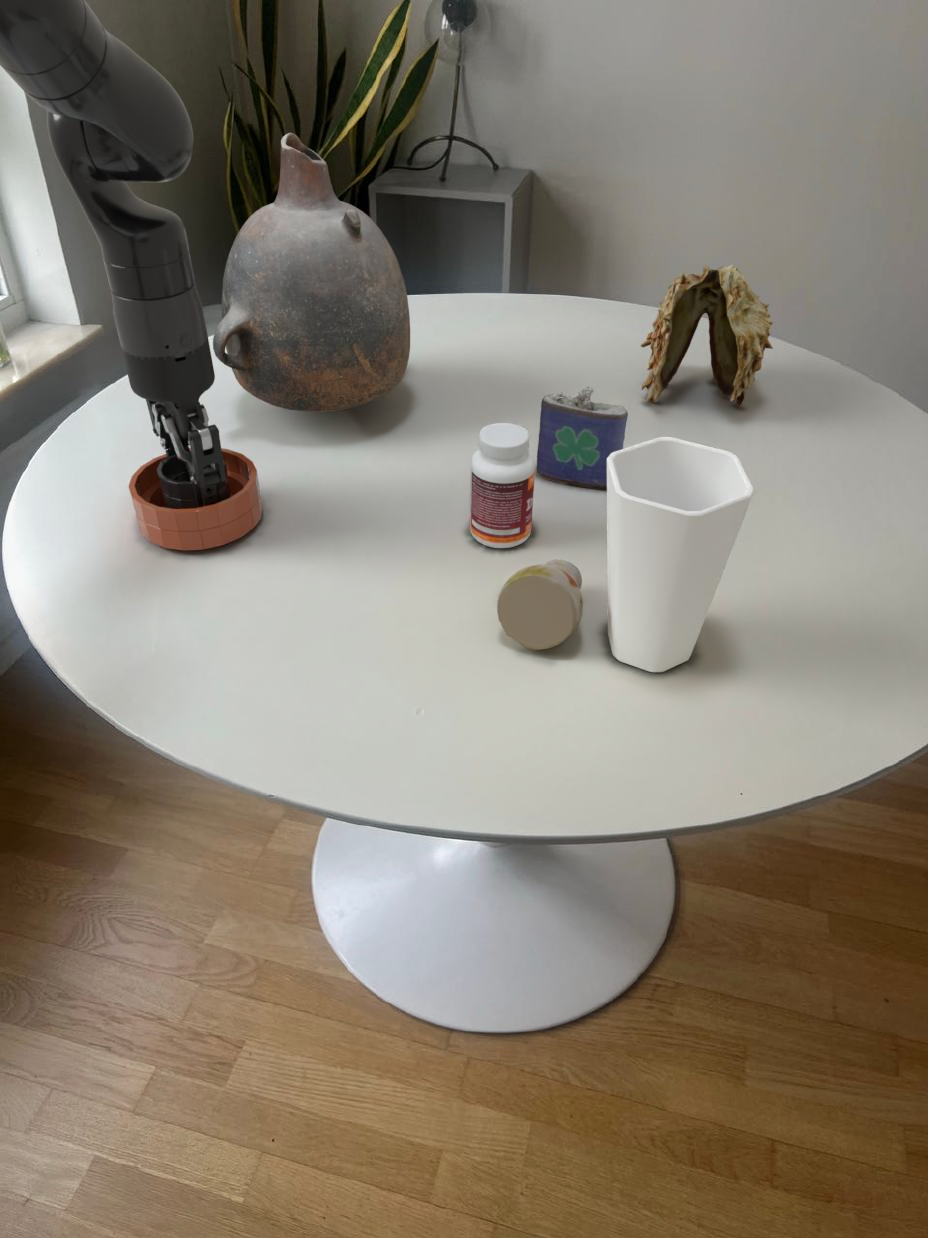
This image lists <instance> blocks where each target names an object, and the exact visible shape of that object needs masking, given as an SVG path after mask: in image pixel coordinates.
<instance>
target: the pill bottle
mask: <svg viewBox="0 0 928 1238" xmlns="http://www.w3.org/2000/svg"><path fill="white" fill-rule="evenodd" d="M477 445H478V449H477V450H476V451H475V452H474V454H473V455H472V456H471V461H470V482H469V483H470V488H469V489H470V491H469V492H470V494H469V497H470V498H469V531H470V534H471V536H472V537H473V539H475V540H476V541H477V542H478V543H480V544H481V545H484V546H486V547H489V548H494V549H509V548H513V547H516V546H520V545H522V544H523V543H525V542H526V541H527V540H528V539H529V537H530V536H531V533H532V532H531V531H532V527H533V525H532V524H533V507H534V492H535V478H536V460H535V457H534V456H533V454H532V453H531V452H530V451H529V448H530V434H529V432H528V430H527V429H525V427H523V426H520V425H518V424H515V423H510V422H496V423H491V424H487V425H486V426H484V427H482V429H481V430H480V431H479V434H478V444H477Z"/></svg>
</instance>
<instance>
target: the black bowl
mask: <svg viewBox="0 0 928 1238" xmlns="http://www.w3.org/2000/svg"><path fill="white" fill-rule="evenodd" d="M189 451H191V450H189ZM189 451H188V452H189ZM223 464H224V470H225V475H226V481H224V482H219V483H217V484H218V489H219V495H220V500H221V501H224V500H226V499H228V498H230V496H231V492H230V487H229V481H228V475H227V470H226V464H225V461H224V459H223ZM206 468H209V467H208V466H205V467H204V468H203V469H206ZM157 473H158V477H159V481H160V486H161V490H162V494H163V499H164V503H165V505H166V508H172V509H190V508H197V505H196V500H195V495H194V490H193V486H192V482H191V480H190V475H189V472H188V469H187V467H186V464H185V463H184V462H181V461H180V460H179V459H178V457H177V454H174V455H171V456H169V457H167V458H166V459H165V460H163V461H162V462H161V463H160V464H159V466H158V469H157Z"/></svg>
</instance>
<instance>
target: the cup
mask: <svg viewBox="0 0 928 1238" xmlns="http://www.w3.org/2000/svg"><path fill="white" fill-rule="evenodd" d="M754 493H755V489H754V487H753V485H752V483H751V481H750V479H749V477H748V475H747V473H746V470H745V469H744V466H743V464H742V463H741V461H740V458H739V456H737V455H736V454H734V453H733V452H731V451H729V450H725V449H721V448H717V447H712V446H708V445H704V444H701V443H697V442H693V441H689V440H685V439H681V438H676V437H673V436H659V437H656V438H653V439H649V440H646V441H643V442H641V443H637V444H634V445H631V446H627V447H625V448H623V449H621V450H618V451H615V452H612V453H611V454H610V455H609V457H608V458H607V489H606V551H607V553H606V555H607V556H606V559H607V560H606V562H607V563H606V564H607V565H606V567H607V568H606V571H607V572H606V573H607V576H606V577H607V583H606V585H607V586H606V587H607V636H608V641H609V645H610V651H611V654H612V656H613V657H614V658H615V659H616V660H618V661H619V662H621V663H624V664H626V665H629V666H631V667H632V666H633V667H635V668H638V669H640V670H643V671H646V672H648V673H649V672H650V673H664V672H666V671H668V670H670V669H672V668H674V667H676V666H678V665H680V664H681V665H682V664H683V663H685V662H688V661H689V659H690V658H691V656H692V654H693V651H694V649H695V646H696V643H697V641H698V638H699V636H700V633H701V632H702V631H701V630H702V628H703V625H704V623H705V620H706V619H707V618H706V617H707V615H708V612H709V609H710V608H711V604H712V603H713V600H714V598H715V597H714V596H715V594H716V591H717V589H718V587H719V584H720V582H721V578H722V576H723V573H724V571H725V569H726V566H727V563H728V560H729V558H730V555H731V552H732V550H733V548H734V545H735V543H736V539H737V537H738V534H739V532H740V529H741V527H742V524H743V521H744V519H745V516H746V514H747V511H748V509H749V506H750V503H751V502H752V501H751V500H752V498H753V495H754Z"/></svg>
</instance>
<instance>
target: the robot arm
mask: <svg viewBox="0 0 928 1238" xmlns="http://www.w3.org/2000/svg"><path fill="white" fill-rule="evenodd" d="M0 67H1V68H2V69H3V70H4V71H5V73H6V74H7V75H8V76H9V77H10V78H11V79H12V80H13V81H14V82H15V83H16V85H18V87H19V88H20V89H21V90H22V91H23V92H24V94H26V95H27V96H28V98H30V99H31V100H32V101H33V102H34V103H35V104H37V105H38V106H39V107H41V108H42V109H44V110H45V111H46V128H47V133H48V138H49V142H50V145H51V149H52V151H53V153H54V156H55V159H56V160H57V163H58V165H59V167H60V168H61V171H62V173H63V175H64V176H65V179H66V180H67V182H68V184H69V186H70V188H71V190H72V192H73V193H74V195H75V197H76V199H77V202H78V203H79V205H80V207H81V209H82V211H83V213H84V215H85V217H86V219H87V221H88V223H89V225H90V227H91V229H92V231H93V232H94V234H95V236H96V239H97V241H98V244H99V246H100V250H101V255H102V259H103V264H104V268H105V273H106V276H107V280H108V285H109V288H110V294H111V295H110V296H111V300H112V313H113V319H114V323H115V324H114V325H115V327H116V331H117V336H118V339H119V344H120V348H121V352H122V357H123V360H124V365H125V369H126V373H127V376H128V382H129V386H130V389H131V390H132V392H133V393H134V394H135V395H136V396H138V397H140V398H142V399H144V400H145V402H146V406H147V410H148V413H149V417H150V421H151V426H152V432H153V434H155V436H156V437H159V440H160V442H159V443H160V446H161V448H162V449H163V450H164V451H165V454H166V455H167V457H169V456H171V455H174V454H177V457H178V459H179V460H180V461H181V462H184V463H185V464H186V467H187V469H188V472H189V475H190V480H191V482H192V486H193V490H194V495H195V500H196V505H197V508H199V507H204V506H208V505H213V504H216V503H219V502H221V500H220V495H219V489H218V484H217V483H219V482H224V481H226V475H225V470H224V464H223V457H222V450H221V448H222V445H221V444H222V443H221V437H220V431H219V428H218V427H217V425H216V423H215V424H210V425H209V421H210V418H209V414H208V412H207V409H206V407H205V404H203V403H201V402H200V398H201V396H202V395H203V394H204V393H205V392H207V391H208V390H209V389H210V388H211V387H212V386H213V385H214V383H215V379H216V374H215V369H214V364H213V358H212V353H211V352H212V351H211V347H210V340H209V335H208V330H207V323H206V318H205V312H204V307H203V304H202V301H201V297H200V294H199V290H198V288H197V283H196V281H195V280H196V278H195V272H194V267H193V263H192V262H193V261H192V256H191V251H190V245H189V239H188V234H187V231H186V227H185V225H184V222H183V220H182V219H181V217H180V216H179V215H178V214H177V213H175V212H174V211H172V210H170V209H167V208H164V207H162V206H160V205H155V204H153V203H151V202H147V201H145V200H143V199H141V198H140V197H138V196H137V195H136V194H135V192H134V191H133V190H132V189H131V187H130V186H129V184H128V183H127V182H134V183H135V182H137V183H154V184H155V183H158V184H159V183H167V182H170V181H174V180H176V179H177V178H179V177H180V176H181V175H182V174H184V173H185V171H186V170H187V168H188V167H189V166H190V163H191V161H192V158H193V155H194V149H195V136H194V129H193V124H192V120H191V117H190V114H189V112H188V109H187V108H186V105H185V103H184V102H183V100H182V98H181V97H180V95H179V93H178V92H177V91H176V89H175V87H173V85H172V84H171V83H170V82H169V81H168V80H167V79H166V77H164V76H163V74H161V73H160V72H159V71H158V70H157V69H156V68H155V67H153V66H152V65H151V64H150V63H148V62H147V61H146V60H145V59H144V58H142V57H141V56H140V55H139V54H137V53H136V51H134V50H133V49H131V48H130V47H129V46H128V45H127V44H126V43H124V42H123V41H122V40H120V39H119V38H118V37H116V36H114V35H113V34H112V33H111V32H109V31H107V30H106V28H105V27H104V25H103V23H102V22H101V21H100V19H99V18H98V16H97V15H96V14H95V12H94V11H93V10H92V8H91V7H90V5H89V3H88V2H87V1H86V0H0ZM189 448H191V451H189V450H190V449H189ZM188 451H189V452H188ZM205 466H208V467H209V468H206V469H203V468H204V467H205Z"/></svg>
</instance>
